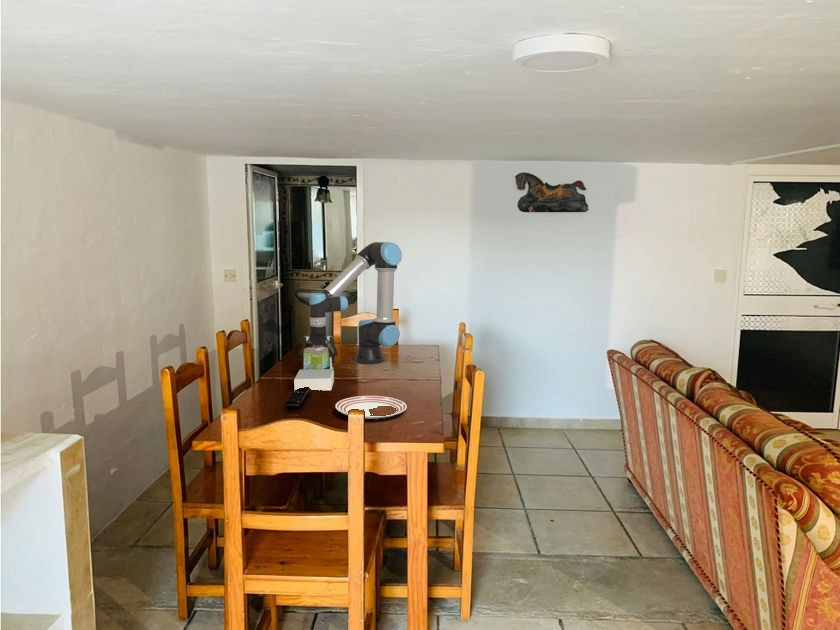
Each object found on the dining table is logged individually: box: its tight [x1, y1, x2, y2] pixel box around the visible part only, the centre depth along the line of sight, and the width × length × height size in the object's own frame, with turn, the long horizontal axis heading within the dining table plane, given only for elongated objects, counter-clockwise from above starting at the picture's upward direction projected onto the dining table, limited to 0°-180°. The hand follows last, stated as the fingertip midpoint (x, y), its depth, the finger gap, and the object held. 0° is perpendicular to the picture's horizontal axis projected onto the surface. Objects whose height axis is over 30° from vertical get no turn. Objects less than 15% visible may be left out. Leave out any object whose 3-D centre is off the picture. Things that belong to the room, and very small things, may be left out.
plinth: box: [293, 368, 335, 392], centre depth 260 cm, size 16×16×6 cm
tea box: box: [303, 344, 334, 370], centre depth 277 cm, size 15×10×15 cm, turn 169°
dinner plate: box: [334, 395, 408, 420], centre depth 221 cm, size 28×27×3 cm
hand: (318, 370), depth 277 cm, fingers closed on tea box, 11 cm apart
